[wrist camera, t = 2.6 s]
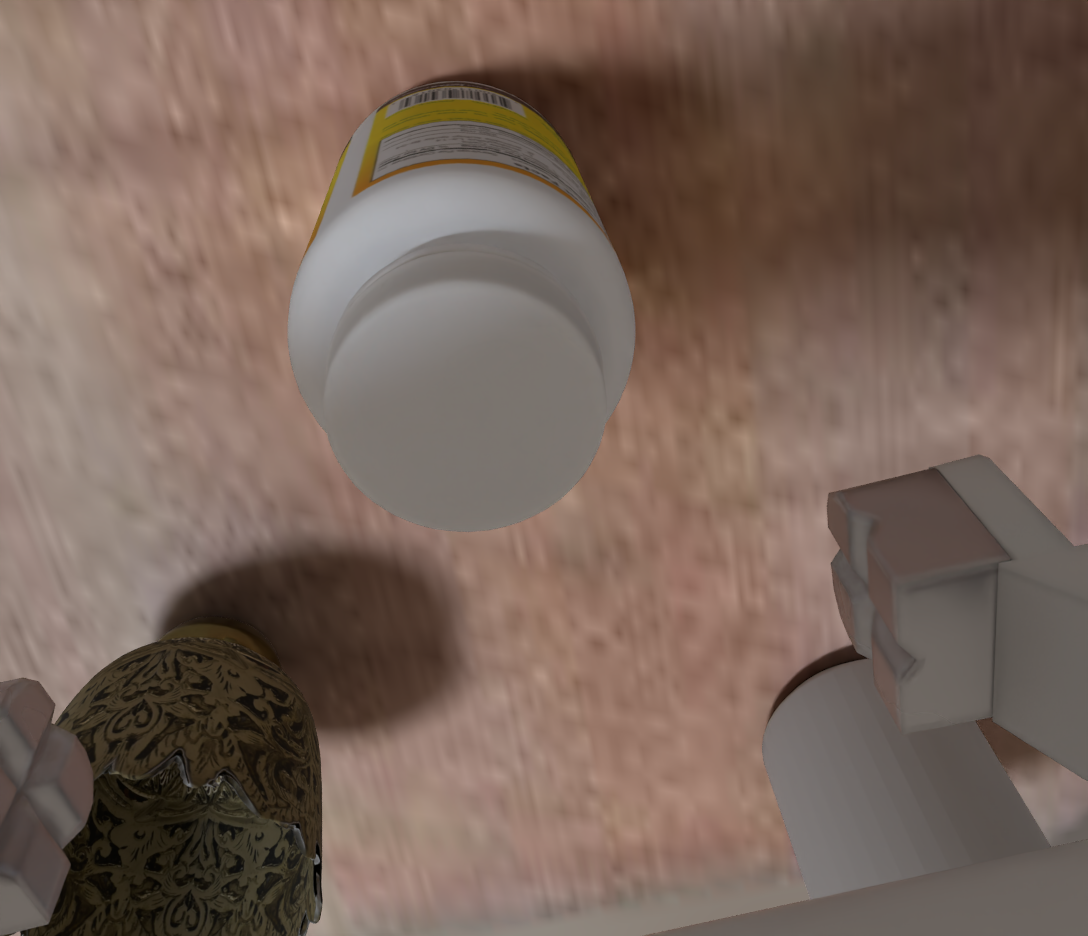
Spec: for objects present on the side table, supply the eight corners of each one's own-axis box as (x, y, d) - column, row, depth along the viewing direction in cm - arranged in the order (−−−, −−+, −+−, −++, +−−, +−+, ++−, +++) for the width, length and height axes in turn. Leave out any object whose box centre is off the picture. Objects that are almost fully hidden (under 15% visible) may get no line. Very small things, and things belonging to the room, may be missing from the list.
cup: (58, 552, 26) (-79, 791, 20) (340, 546, 27) (302, 776, 20) (113, 751, 30) (14, 1009, 23) (359, 742, 31) (332, 990, 24)
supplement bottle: (445, 362, 24) (440, 638, 16) (281, 184, 22) (168, 394, 13) (630, 223, 23) (739, 441, 14) (478, 15, 20) (498, 126, 12)
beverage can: (923, 783, 34) (1126, 1180, 24) (739, 787, 33) (866, 1196, 23) (975, 640, 31) (1237, 1027, 20) (773, 641, 30) (939, 1041, 20)
